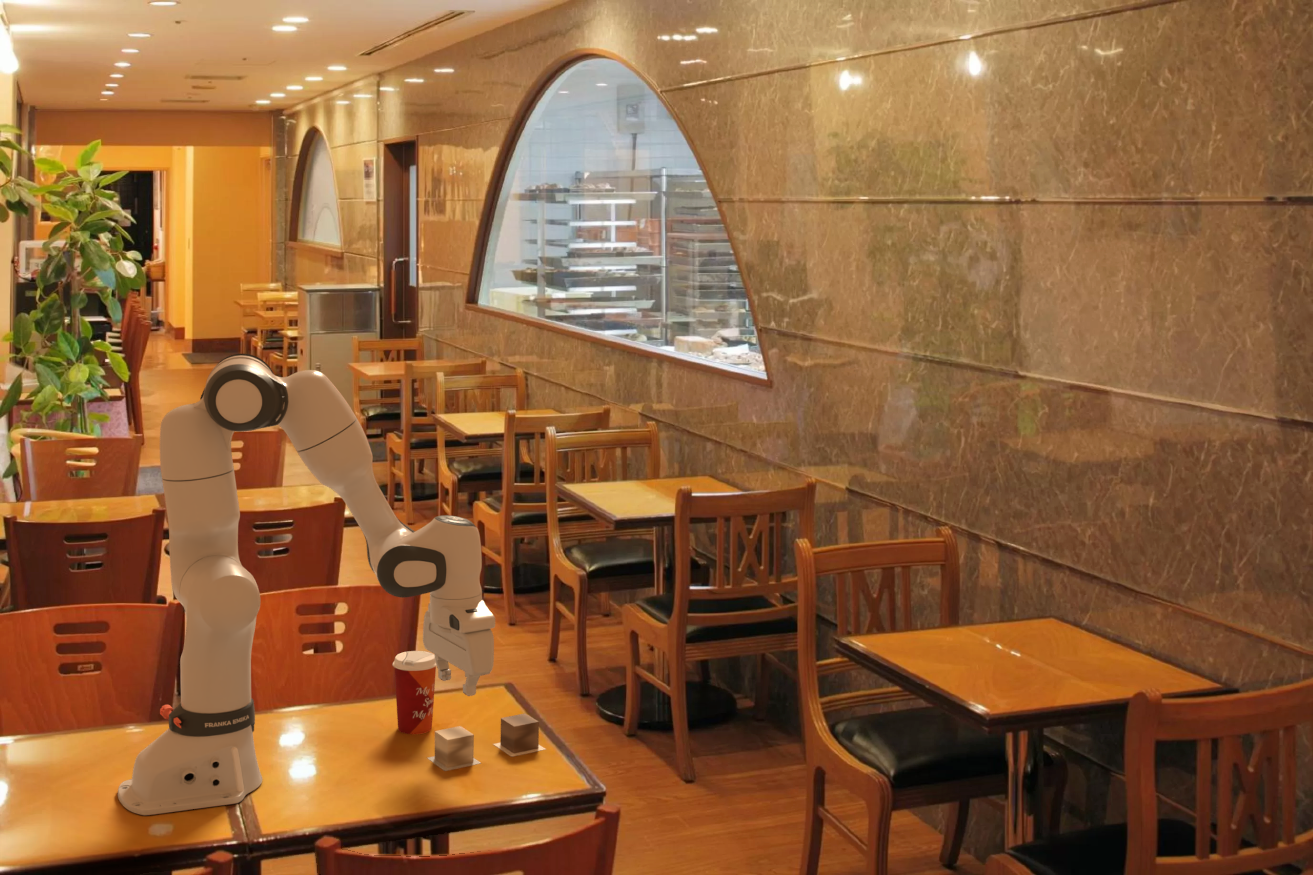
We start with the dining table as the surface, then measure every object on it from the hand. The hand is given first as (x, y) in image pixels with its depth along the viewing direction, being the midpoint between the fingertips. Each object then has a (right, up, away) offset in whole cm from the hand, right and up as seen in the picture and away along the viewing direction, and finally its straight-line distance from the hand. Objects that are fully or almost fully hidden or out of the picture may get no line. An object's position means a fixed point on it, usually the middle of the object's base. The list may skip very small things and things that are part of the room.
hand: (456, 686), depth 233 cm
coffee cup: (-10, -12, +17) cm, 23 cm away
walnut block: (+10, -12, +9) cm, 18 cm away
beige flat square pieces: (+5, -14, +6) cm, 16 cm away
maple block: (-1, -13, +2) cm, 13 cm away
